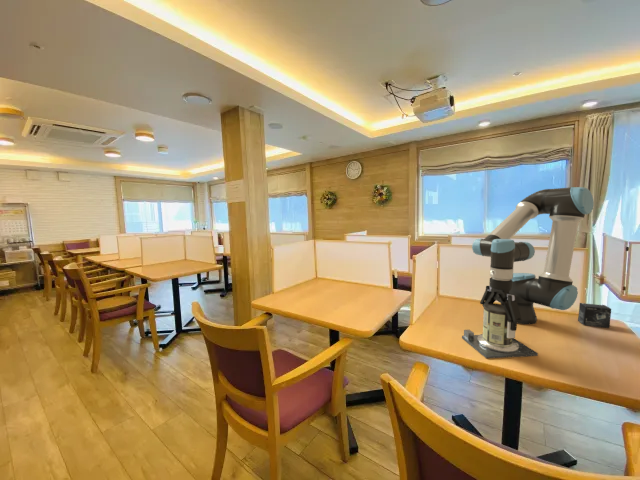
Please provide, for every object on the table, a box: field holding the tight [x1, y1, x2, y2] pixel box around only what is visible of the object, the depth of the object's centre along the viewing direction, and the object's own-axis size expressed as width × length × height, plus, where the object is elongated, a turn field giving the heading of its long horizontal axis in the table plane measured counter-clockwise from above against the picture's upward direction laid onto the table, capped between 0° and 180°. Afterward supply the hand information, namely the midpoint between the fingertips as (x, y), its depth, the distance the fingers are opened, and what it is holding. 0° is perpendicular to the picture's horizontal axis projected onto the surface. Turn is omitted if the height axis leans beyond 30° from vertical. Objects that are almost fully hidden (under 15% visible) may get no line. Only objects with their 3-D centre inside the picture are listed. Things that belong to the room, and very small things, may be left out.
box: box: [577, 302, 612, 329], centre depth 127 cm, size 9×6×10 cm, turn 68°
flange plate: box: [461, 329, 539, 359], centre depth 109 cm, size 20×16×4 cm
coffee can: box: [482, 302, 513, 347], centre depth 109 cm, size 10×10×14 cm
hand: (498, 329), depth 108 cm, fingers open, 13 cm apart
